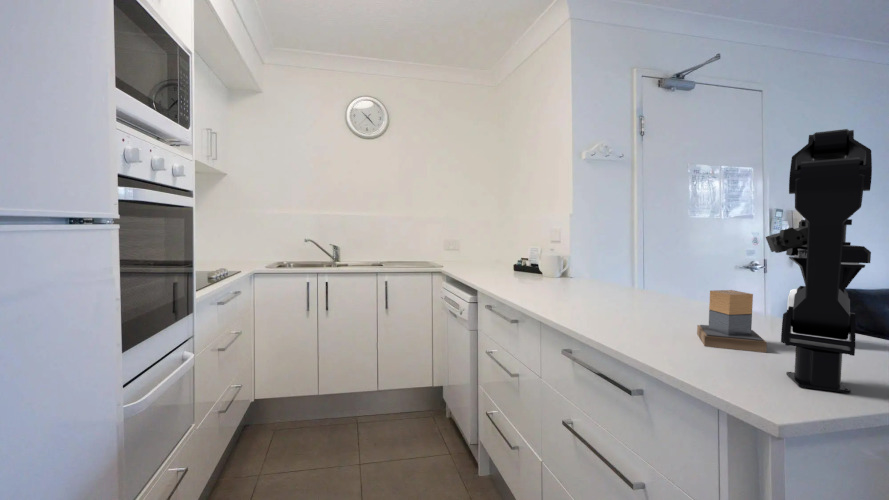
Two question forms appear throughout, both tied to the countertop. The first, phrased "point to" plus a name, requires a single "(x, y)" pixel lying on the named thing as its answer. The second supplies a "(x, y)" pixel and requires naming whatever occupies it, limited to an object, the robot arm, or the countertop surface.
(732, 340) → the walnut stand
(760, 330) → the countertop surface
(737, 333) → the tan and grey block
